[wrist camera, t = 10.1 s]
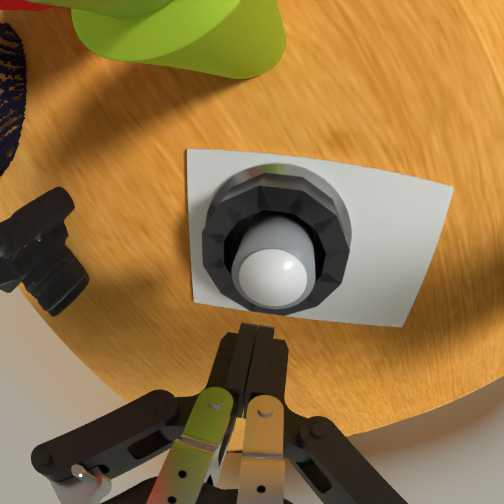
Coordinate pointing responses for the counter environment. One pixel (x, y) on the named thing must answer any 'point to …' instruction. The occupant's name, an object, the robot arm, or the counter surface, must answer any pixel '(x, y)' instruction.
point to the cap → (275, 260)
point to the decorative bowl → (11, 94)
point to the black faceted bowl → (281, 200)
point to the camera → (41, 252)
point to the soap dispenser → (183, 33)
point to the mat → (363, 233)
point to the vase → (22, 5)
